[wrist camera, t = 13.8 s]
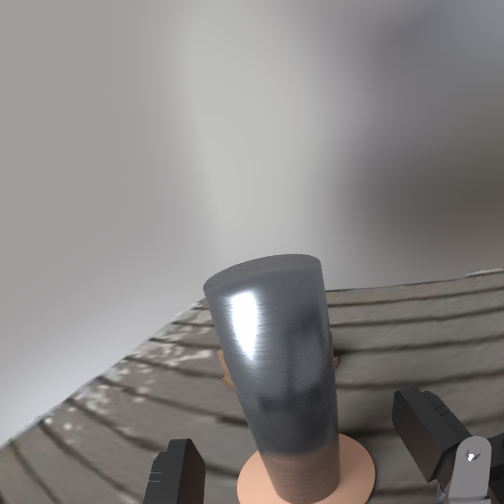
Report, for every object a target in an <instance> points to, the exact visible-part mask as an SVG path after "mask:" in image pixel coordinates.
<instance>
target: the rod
mask: <svg viewBox="0 0 504 504" xmlns="http://www.w3.org/2000/svg"><path fill="white" fill-rule="evenodd" d="M203 290H204V293H205V296H206V300H207V303H208V307H209V310H210V313H211V316H212V320H213V323H214V326H215V329H216V333H217V336H218V339H219V342H220V345H221V348H222V351H223V354H224V357H225V360H226V363H227V366H228V369H229V372H230V375H231V378H232V381H233V384H234V387H235V390H236V392H237V395H238V398H239V401H240V404H241V406H242V409H243V412H244V415H245V417H246V420H247V423H248V425H249V428H250V431H251V433H252V436H253V438H254V441H255V443H256V446H257V449H258V451H259V454H260V456H261V459H262V461H263V463H264V466H265V468H266V471H267V473H268V476H269V478H270V480H271V483H272V485H273V487H274V490H275V492H276V493H277V495H278V496H279V497H280V498H281V499H283V500H284V501H286V502H289V503H292V504H313V503H317V502H319V501H322V500H324V499H325V498H327V497H328V496H330V495H331V494H332V493H333V492H334V491H335V489H336V488H337V486H338V484H339V481H340V448H339V426H338V409H337V395H336V383H335V372H334V361H333V351H332V342H331V334H330V325H329V317H328V310H327V302H326V295H325V288H324V282H323V275H322V268H321V263H320V261H319V260H318V259H317V258H316V257H313V256H310V255H303V254H285V255H275V256H269V257H264V258H259V259H254V260H251V261H247V262H244V263H240V264H237V265H235V266H232V267H229V268H227V269H225V270H223V271H221V272H219V273H217V274H215V275H214V276H212V277H211V278H209V279H208V280H207V281H206V283H205V284H204V287H203Z"/></svg>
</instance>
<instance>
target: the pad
mask: <svg viewBox="0 0 504 504" xmlns="http://www.w3.org/2000/svg"><path fill="white" fill-rule="evenodd" d="M339 448H340V481H339V484H338V486H337V488H336V489H335V491H334V492H333V493H332V494H331V495H330V496H328V497H327V498H325V499H324V500H322V501H319V502H317V503H313V504H365V503H366V502H367V500H368V499H369V497H370V494H371V492H372V489H373V486H374V481H375V467H374V463H373V460H372V458H371V456H370V454H369V453H368V451H367V450H366V449H365V448H364V447H363V446H362V445H361V444H360V443H358V442H357V441H355V440H354V439H352V438H350V437H348V436H346V435H343V434H340V433H339ZM237 493H238V499H239V501H240V504H292V503H289V502H286V501H284V500H283V499H281V498H280V497H279V496H278V495H277V493H276V492H275V490H274V487H273V485H272V483H271V480H270V478H269V476H268V473H267V471H266V468H265V466H264V463H263V461H262V459H261V456H260V454H259V451H257V452H256V453H255V454H254V455H252V457H251V458H250V459H249V460H248V461H247V462H246V464H245V465H244V467H243V469H242V471H241V473H240V476H239V479H238V484H237Z"/></svg>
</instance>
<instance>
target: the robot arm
mask: <svg viewBox="0 0 504 504" xmlns="http://www.w3.org/2000/svg"><path fill="white" fill-rule="evenodd" d="M392 421H393V425H394V427H395V429H396V431H397V432H398V434H399V436H400V437H401V439H402V440H403V442H404V444H405V445H406V447H407V449H408V450H409V452H410V454H411V455H412V457H413V459H414V460H415V462H416V464H417V465H418V467H419V469H420V470H421V472H422V474H423V476H424V477H425V479H426V481H427V482H428V483H429V482H431V481H432V480H434V479H437V480H438V482H439V485H438V488H437V492H436V496H435V499H434V502H433V504H491V498H490V497H487V489H488V484H489V486H490V488H491V489H492V491H493V493H494V494H495V496H496V498H497V500H498V501H499V503H500V504H504V433H502V434H500V435H497V436H495V437H492V438H489V439H485V438H484V437H480V436H472V435H471V434H470V433H469V432H468V431H467V430H466V428H465V427H464V426H463V425H462V424H461V422H460V421H459V420H458V419H457V418H456V416H455V415H454V414H453V413H452V412H450V409H449V408H448V407H447V406H446V405H444V403H443V401H442V400H441V399H440V398H439V397H438V396H437V395H435V394H433V393H431V392H429V391H425V392H423V393H421V392H420V390H419V389H418V388H417V387H416V386H415V385H414V384H411V385H409V386H406V387H404V388H402V389H399V390H397V391H395V394H394V403H393V411H392ZM205 472H206V471H205V464H204V461H203V459H202V457H201V455H200V454H199V452H198V450H197V449H196V447H195V445H194V444H193V442H192V440H191V439H172V440H170V442H169V445H168V449H167V452H160V453H159V455H158V456H157V457H156V459H155V460H154V461H153V465H152V469H151V474H150V477H149V482H148V485H147V489H146V493H145V498H144V502H143V504H203V499H204V485H205Z"/></svg>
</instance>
